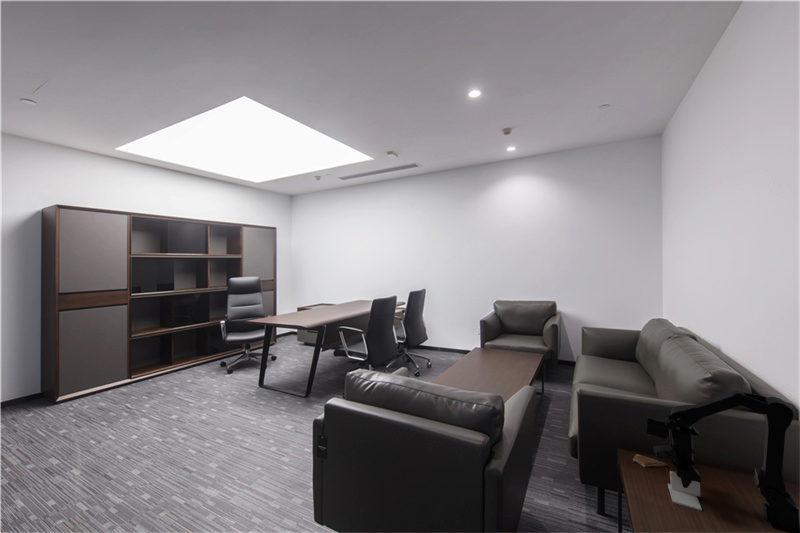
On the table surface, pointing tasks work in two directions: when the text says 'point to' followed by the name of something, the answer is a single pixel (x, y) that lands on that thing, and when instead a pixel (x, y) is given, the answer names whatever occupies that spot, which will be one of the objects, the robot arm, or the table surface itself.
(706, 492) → the table surface
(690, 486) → the card
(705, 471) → the table surface
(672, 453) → the robot arm
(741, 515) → the table surface
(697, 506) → the mat
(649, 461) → the shard
